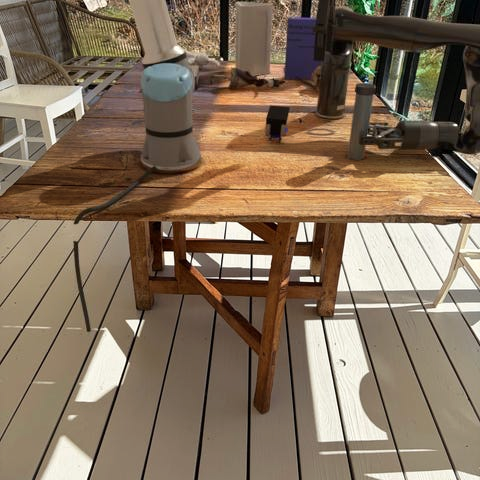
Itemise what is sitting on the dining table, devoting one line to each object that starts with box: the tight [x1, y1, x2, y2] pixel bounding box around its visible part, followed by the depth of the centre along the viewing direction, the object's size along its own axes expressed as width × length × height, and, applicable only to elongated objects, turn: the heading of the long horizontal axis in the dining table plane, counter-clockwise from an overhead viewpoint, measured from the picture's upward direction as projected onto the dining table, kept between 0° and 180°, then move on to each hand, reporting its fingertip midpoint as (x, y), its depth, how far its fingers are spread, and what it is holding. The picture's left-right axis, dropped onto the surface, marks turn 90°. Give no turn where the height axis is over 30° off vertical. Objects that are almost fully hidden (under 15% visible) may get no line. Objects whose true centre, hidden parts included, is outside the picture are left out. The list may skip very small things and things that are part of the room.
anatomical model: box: [310, 66, 321, 93], centre depth 190 cm, size 13×9×15 cm
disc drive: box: [189, 64, 200, 90], centre depth 197 cm, size 18×22×5 cm
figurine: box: [209, 66, 287, 89], centre depth 190 cm, size 24×8×30 cm
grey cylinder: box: [346, 92, 375, 161], centre depth 124 cm, size 4×4×18 cm
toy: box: [185, 50, 221, 69], centre depth 223 cm, size 24×25×7 cm
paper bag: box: [234, 1, 274, 77], centre depth 210 cm, size 19×15×28 cm
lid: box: [354, 82, 377, 95], centre depth 119 cm, size 5×5×2 cm
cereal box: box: [283, 16, 321, 81], centre depth 202 cm, size 17×5×24 cm, turn 86°
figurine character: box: [264, 105, 290, 143], centre depth 140 cm, size 7×8×15 cm
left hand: (322, 56), depth 124 cm, fingers open, 13 cm apart
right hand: (355, 134), depth 125 cm, fingers open, 8 cm apart
